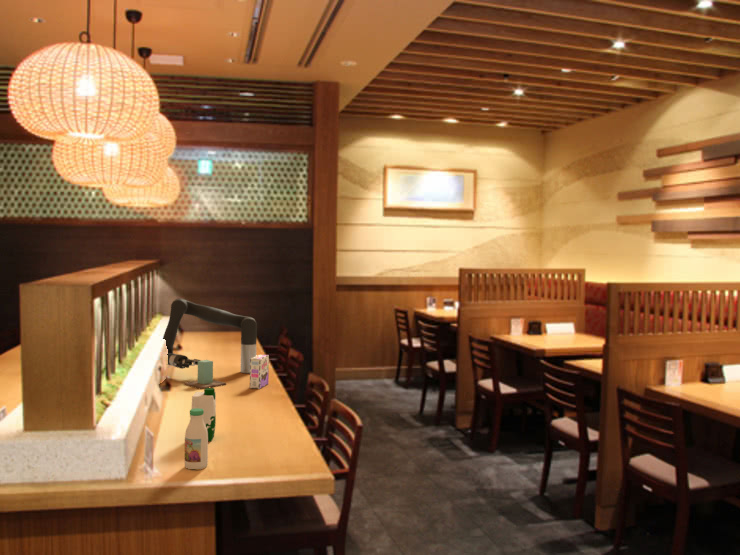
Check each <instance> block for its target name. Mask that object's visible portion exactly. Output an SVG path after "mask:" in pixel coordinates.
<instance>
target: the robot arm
mask: <svg viewBox="0 0 740 555" xmlns="http://www.w3.org/2000/svg"><path fill="white" fill-rule="evenodd" d="M169 313H170V314H169V318H168V322H167V326H166V328H165V331H164V334H163V336H162V339H165V340H166V346H167V349H168V354H167V355H168V364H167V365H169V366H172V367H174V368H178V369H180V370H181V369H186V368H187V369H189V368H190V367H194V366H198V361H202V359H197V358H193V359H192V358H189V357H188V356H187V355H184V354H180V353H179V354H178V353H173V352H174V345H175V342H176V338H177V335H178V331H179V327H180V323H181V320H182V318H183V317H184V315H189V316H192V317H196V318H198V319H200V320H201V321H204V322H207V323H212V324H214V325H220V326H230V327H234V328H237V329H240V330H241V331H240V373H243V374H250V358H253V357H256V356H257V339H258V326H257V325H258V323H257V320H256V319H255V318H253V317H251V316H244V315H239V314H234V313H232V312H230V311H228V310H223V309H220V308H217V307H213V306H208V305H204V304H198V303H195V302H192V301H189V300H186V299H185V298H176V299H174V300H173V301H172V303H171V304H170V312H169Z"/></svg>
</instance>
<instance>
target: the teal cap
mask: <svg viewBox="0 0 740 555" xmlns="http://www.w3.org/2000/svg"><path fill="white" fill-rule="evenodd" d="M213 378H214V361H213V360H210V359H203V360H202V359H201V361H198V365H197V380H198V383H200V384H209V383H213V380H214V379H213Z"/></svg>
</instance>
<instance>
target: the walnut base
mask: <svg viewBox="0 0 740 555" xmlns="http://www.w3.org/2000/svg"><path fill="white" fill-rule="evenodd" d="M183 384H185V385H184V386H188V385H189V387H191V386H192V388H195V387H196V388H195V389H198V388H200V389H199V390H204V389H203V388H209V387H211V388H216V387H215V386H217V387H221V385H222V386H226V385H227V382H224V381H220V380H217V379H216V380H215V379H213V383H209V384H200V383H198V379H197V380H193V381H187V382H186V381H185V382H184V383H183Z"/></svg>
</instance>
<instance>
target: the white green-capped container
mask: <svg viewBox="0 0 740 555" xmlns="http://www.w3.org/2000/svg"><path fill="white" fill-rule="evenodd" d="M216 395H217V394H216V391H215V387H211V388H205V389H203V391H196V392H194V393H193V395H192V398H191V409H195V408H200V409H203V410H204V414H203V415H204V416H203V421H204V423H205V426H206V428H207V432H208V441H210V442H212V441H213V439H214V437H215V434H216V433H215V431H216V424H217V423H216V421H217V419H216V416H217V415H216V412H217V411H216V410H217V409H216V407H217V405H216V404H217V403H216V402H217V399H216Z"/></svg>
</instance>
